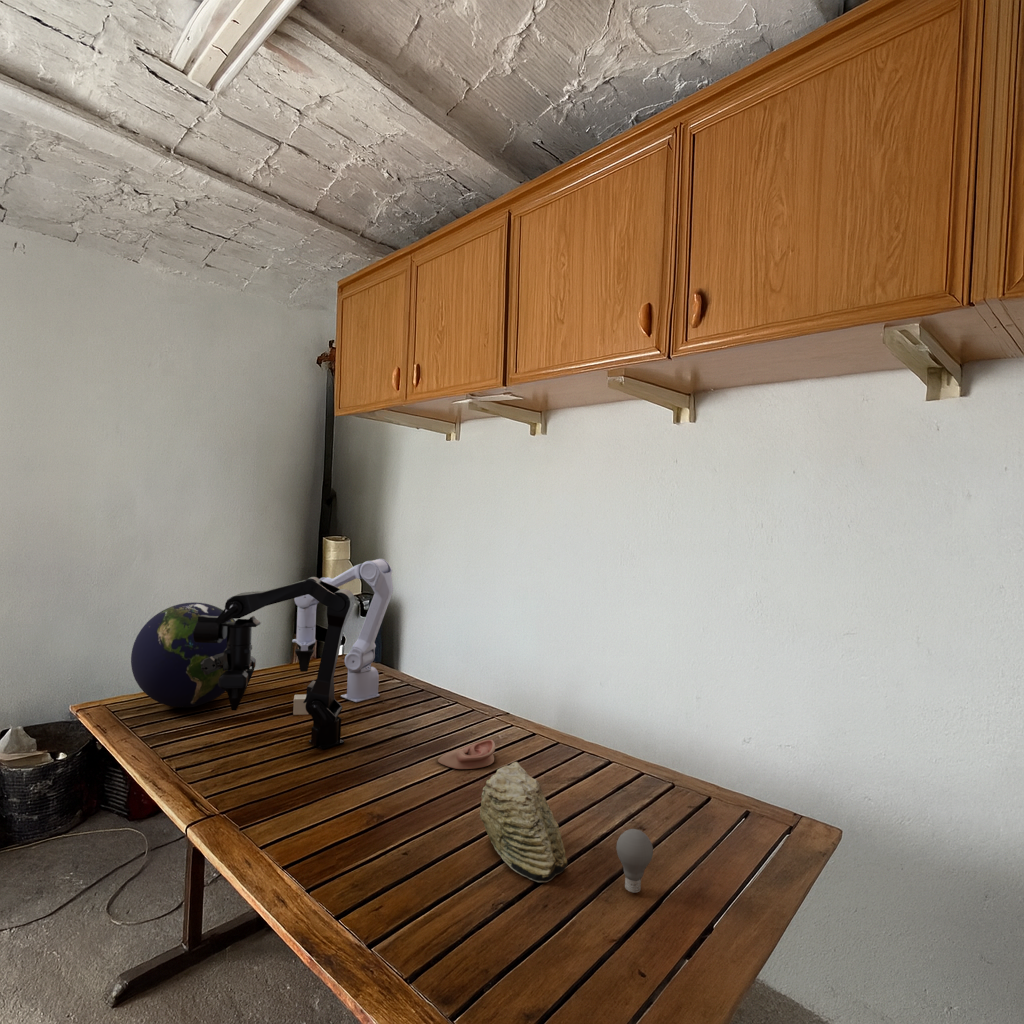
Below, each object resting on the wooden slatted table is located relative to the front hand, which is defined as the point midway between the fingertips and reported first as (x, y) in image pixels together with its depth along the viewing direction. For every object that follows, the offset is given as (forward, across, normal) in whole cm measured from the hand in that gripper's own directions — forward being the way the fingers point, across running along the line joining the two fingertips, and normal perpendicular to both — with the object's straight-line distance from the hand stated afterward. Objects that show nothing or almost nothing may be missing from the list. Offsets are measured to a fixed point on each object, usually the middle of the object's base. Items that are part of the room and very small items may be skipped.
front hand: (237, 704), depth 161 cm
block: (+10, -20, +15) cm, 27 cm away
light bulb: (+10, +77, +73) cm, 106 cm away
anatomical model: (+10, +21, +56) cm, 60 cm away
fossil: (+10, +64, +57) cm, 86 cm away
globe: (+10, -30, -17) cm, 36 cm away
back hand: (+2, -41, +14) cm, 43 cm away
